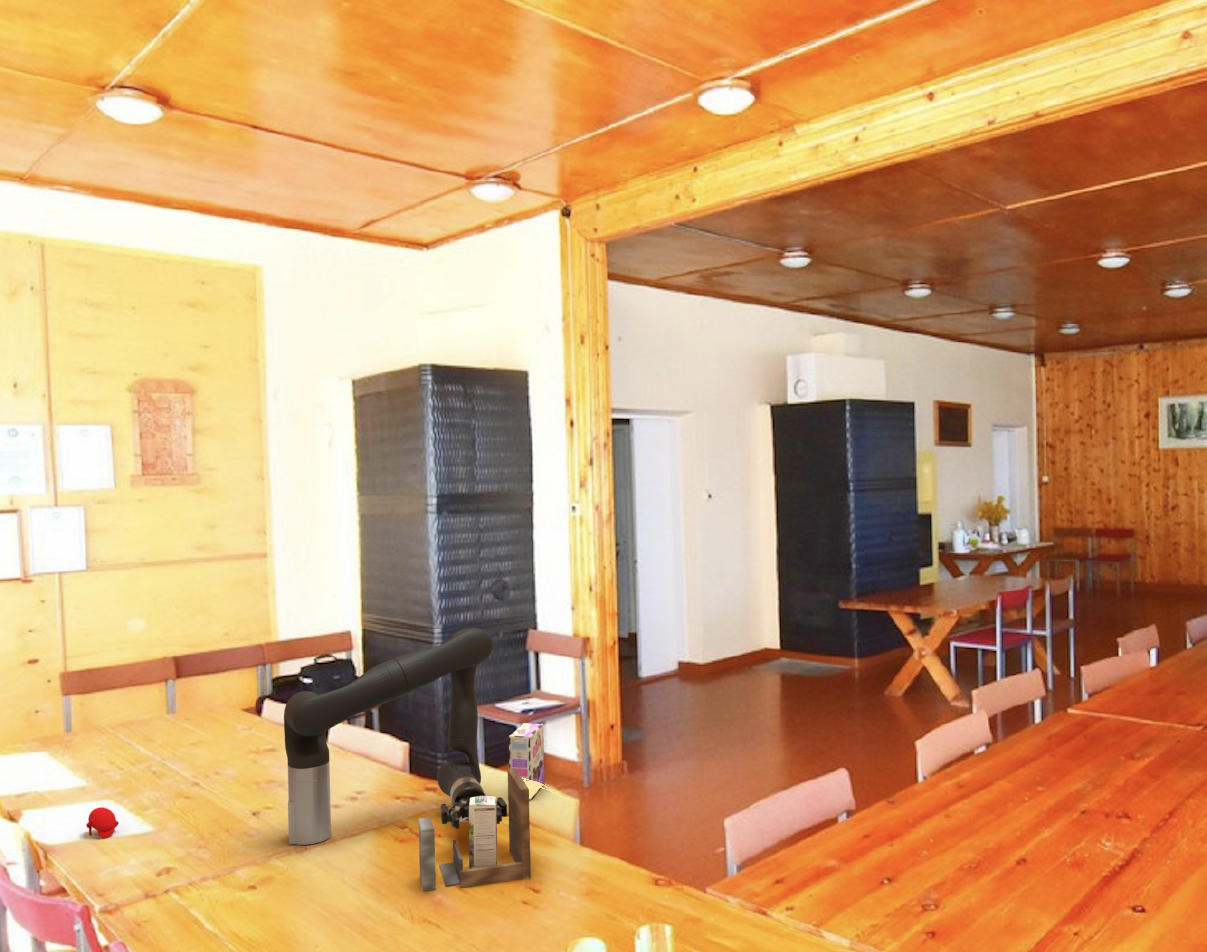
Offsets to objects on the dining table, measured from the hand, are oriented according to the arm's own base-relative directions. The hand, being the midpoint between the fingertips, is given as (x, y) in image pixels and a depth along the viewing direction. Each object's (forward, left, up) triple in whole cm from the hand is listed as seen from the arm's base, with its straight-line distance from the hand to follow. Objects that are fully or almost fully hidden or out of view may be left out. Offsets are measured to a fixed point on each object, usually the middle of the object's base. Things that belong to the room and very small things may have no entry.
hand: (478, 821), depth 199 cm
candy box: (+19, +42, -9) cm, 48 cm away
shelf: (-2, -3, -9) cm, 10 cm away
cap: (-82, +49, -9) cm, 96 cm away
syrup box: (+1, -3, -9) cm, 10 cm away
